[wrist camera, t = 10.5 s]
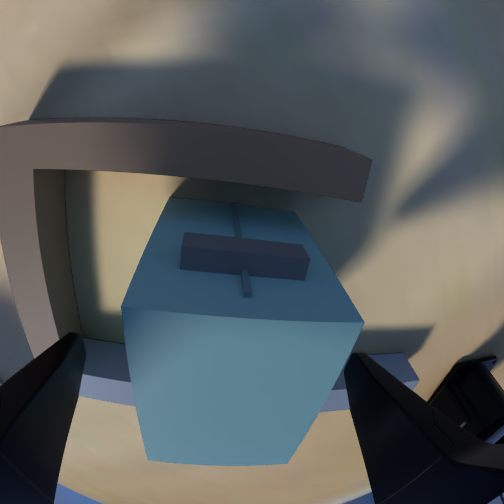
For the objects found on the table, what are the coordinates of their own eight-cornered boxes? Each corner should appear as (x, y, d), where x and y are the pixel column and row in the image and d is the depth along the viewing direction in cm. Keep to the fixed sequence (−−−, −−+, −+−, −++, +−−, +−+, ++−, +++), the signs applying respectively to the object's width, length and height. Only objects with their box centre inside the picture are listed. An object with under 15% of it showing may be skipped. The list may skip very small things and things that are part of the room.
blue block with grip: (297, 197, 12) (374, 299, 6) (263, 341, 16) (287, 463, 9) (170, 182, 11) (119, 279, 5) (164, 334, 15) (147, 460, 8)
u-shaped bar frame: (473, 187, 13) (505, 204, 10) (390, 373, 18) (404, 400, 16) (28, 120, 9) (-8, 128, 7) (60, 356, 15) (46, 387, 13)
